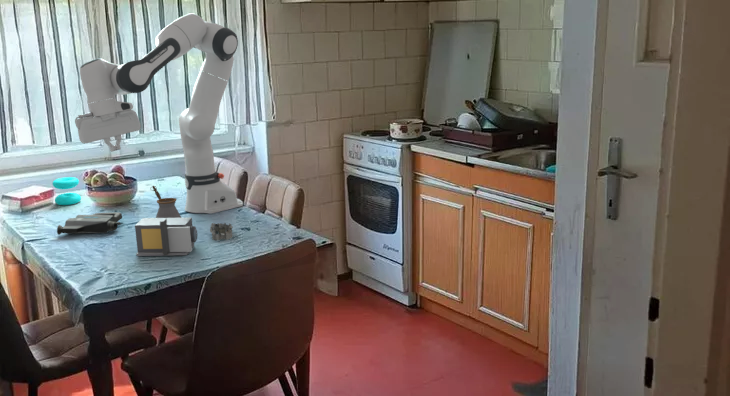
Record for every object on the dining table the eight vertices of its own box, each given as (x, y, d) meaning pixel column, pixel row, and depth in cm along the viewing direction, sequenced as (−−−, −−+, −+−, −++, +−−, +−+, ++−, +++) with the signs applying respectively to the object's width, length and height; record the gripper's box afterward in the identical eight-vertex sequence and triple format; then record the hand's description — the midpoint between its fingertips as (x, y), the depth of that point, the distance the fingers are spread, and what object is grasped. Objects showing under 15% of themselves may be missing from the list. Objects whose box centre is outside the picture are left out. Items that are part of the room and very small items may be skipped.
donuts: (81, 179, 287) (55, 183, 281) (84, 203, 289) (58, 207, 284) (74, 175, 295) (49, 178, 289) (77, 198, 297) (52, 202, 292)
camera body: (200, 246, 232) (197, 217, 230) (192, 256, 223) (190, 226, 220) (146, 247, 233) (143, 218, 230) (136, 257, 223) (133, 226, 221)
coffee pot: (191, 237, 242) (187, 194, 238) (158, 243, 236) (153, 200, 232) (172, 222, 260) (168, 182, 256) (141, 228, 254) (136, 187, 250)
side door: (191, 250, 224) (188, 217, 221) (188, 254, 220) (185, 221, 217) (166, 251, 224) (163, 217, 221) (163, 255, 220) (159, 221, 217)
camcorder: (119, 233, 249) (118, 219, 247) (57, 239, 244) (55, 224, 242) (123, 221, 264) (121, 207, 263) (64, 226, 259) (62, 212, 258)
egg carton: (232, 240, 239) (231, 228, 238) (210, 241, 238) (209, 230, 237) (233, 230, 249) (232, 219, 248) (211, 232, 248) (210, 221, 247)
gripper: (77, 115, 222) (89, 158, 225) (136, 102, 235) (147, 142, 238) (69, 116, 226) (81, 158, 229) (128, 104, 240) (139, 143, 243)
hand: (115, 150), depth 234 cm, fingers closed
